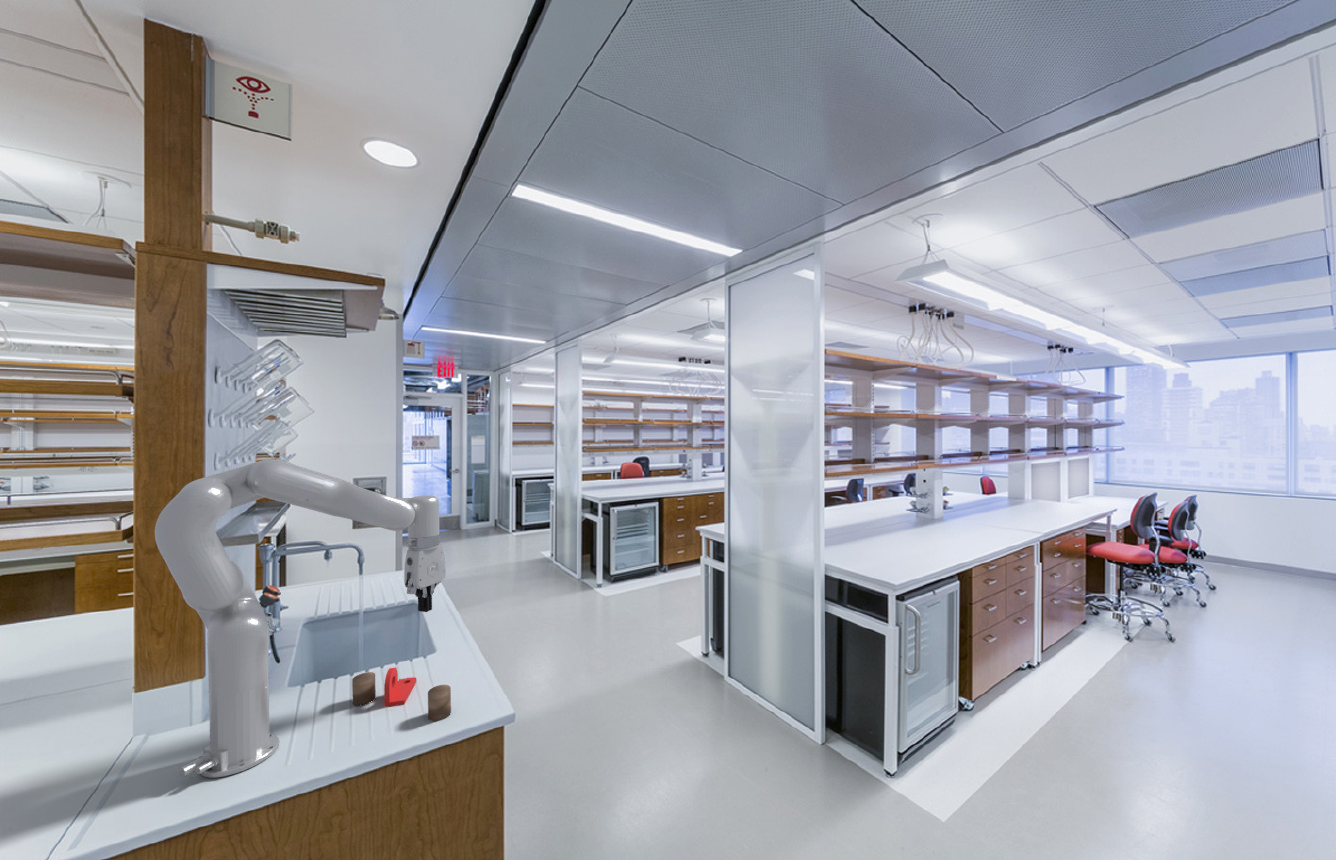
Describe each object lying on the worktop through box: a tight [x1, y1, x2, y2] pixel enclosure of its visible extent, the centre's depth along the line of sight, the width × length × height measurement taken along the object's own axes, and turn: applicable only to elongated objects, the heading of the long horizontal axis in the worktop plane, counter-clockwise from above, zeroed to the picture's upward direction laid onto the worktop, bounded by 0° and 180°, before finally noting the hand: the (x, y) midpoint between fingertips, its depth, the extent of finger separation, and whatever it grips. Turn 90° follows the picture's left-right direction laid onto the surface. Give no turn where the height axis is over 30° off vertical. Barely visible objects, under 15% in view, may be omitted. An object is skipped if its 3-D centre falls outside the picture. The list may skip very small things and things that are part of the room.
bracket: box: [383, 667, 417, 708], centre depth 126 cm, size 12×4×8 cm, turn 14°
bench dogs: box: [351, 671, 452, 722], centre depth 119 cm, size 5×29×6 cm, turn 73°
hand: (425, 610), depth 128 cm, fingers closed
